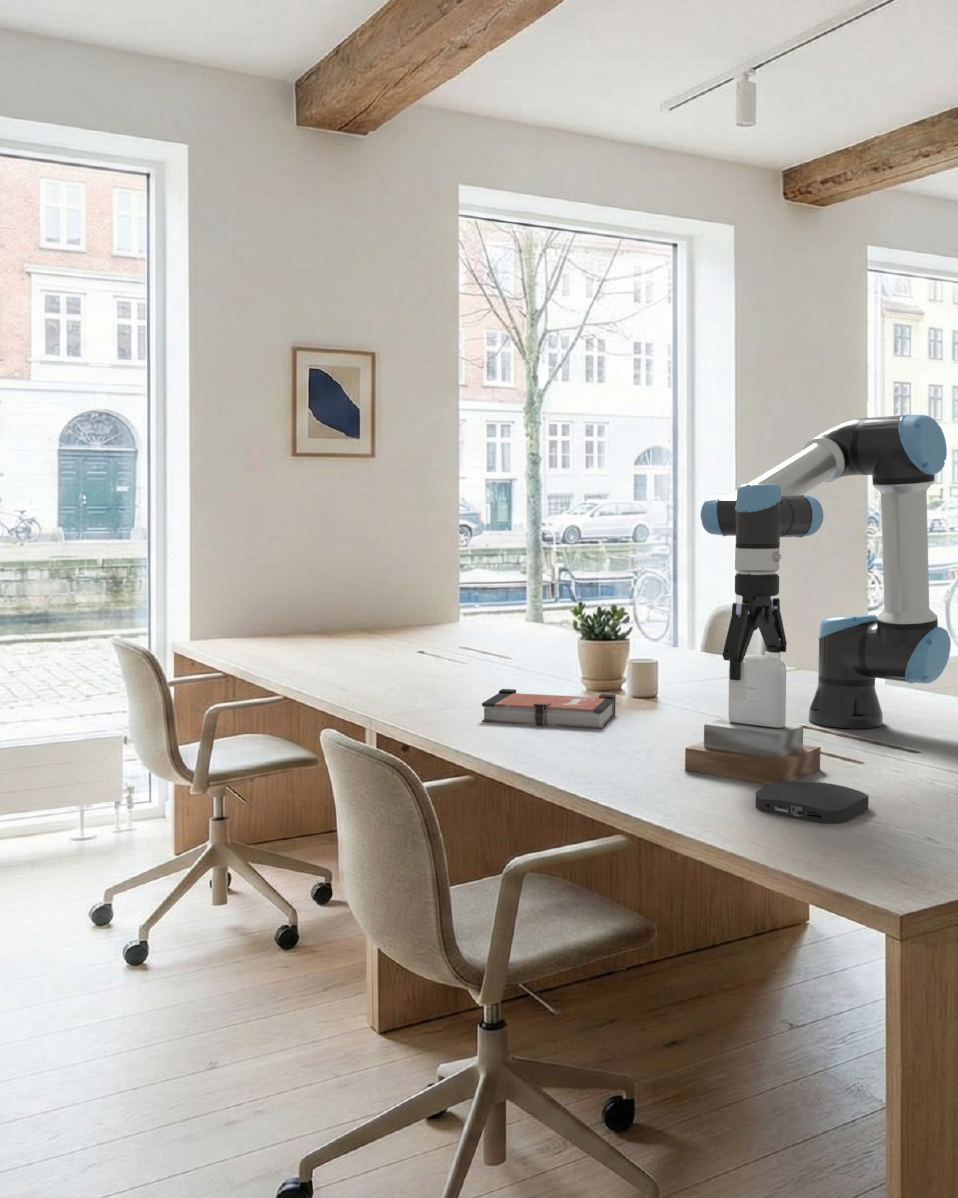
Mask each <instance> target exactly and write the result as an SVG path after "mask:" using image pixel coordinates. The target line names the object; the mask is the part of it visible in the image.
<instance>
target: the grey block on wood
mask: <svg viewBox="0 0 958 1198" xmlns="http://www.w3.org/2000/svg"><path fill="white" fill-rule="evenodd" d="M821 749H822V747H821V746H815V745H809V744H804V725H799V724H798V725H797V724H793V723H785V727H782V728H773V727H765V726H758V725H749V724H741V723H731V722H730V721H729V716H727V717H724V718H723V717H722V718H720V719H717V720H715V721H711V722H708V723H705V724H704V725H703V741H702V742H699V743H696V744H693V745H689V746H688V747H685V751H684V752H685V753H684V771H687V772H692V773H698V774H704V775H711V776H716V777H722V778H727V779H734V780H739V781H746V782H752V783H756V784H763V785H770V784H773V783H777V782H796V781H797V780H799V779H802V778H803V777H806V776H808V775H810V774H813V773H815V772H818V771H819V770H821Z"/></svg>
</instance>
